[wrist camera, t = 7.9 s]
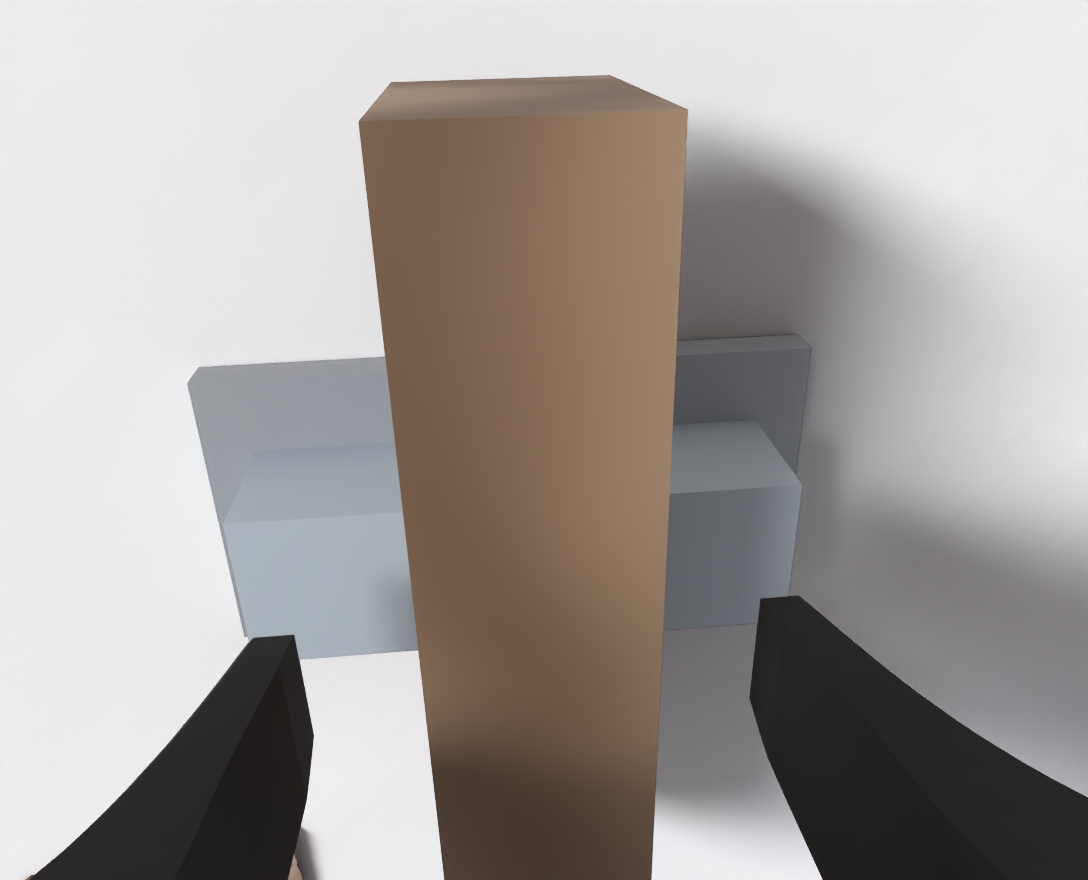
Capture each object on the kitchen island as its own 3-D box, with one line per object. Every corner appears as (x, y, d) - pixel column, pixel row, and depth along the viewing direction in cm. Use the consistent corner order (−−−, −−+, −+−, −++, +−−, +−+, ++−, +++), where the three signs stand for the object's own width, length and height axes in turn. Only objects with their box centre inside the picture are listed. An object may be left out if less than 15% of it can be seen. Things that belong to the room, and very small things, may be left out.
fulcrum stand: (797, 334, 18) (869, 403, 15) (769, 574, 20) (826, 677, 17) (198, 367, 17) (141, 448, 14) (252, 613, 20) (214, 728, 17)
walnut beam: (609, 74, 12) (688, 108, 8) (602, 858, 19) (641, 1083, 15) (391, 82, 12) (357, 121, 8) (466, 871, 19) (469, 1102, 15)
